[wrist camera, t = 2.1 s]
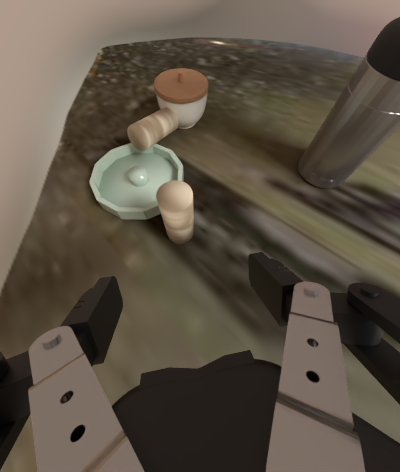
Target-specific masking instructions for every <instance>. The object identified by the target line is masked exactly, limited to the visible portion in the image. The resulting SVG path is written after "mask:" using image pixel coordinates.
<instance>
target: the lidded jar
mask: <svg viewBox="0 0 400 472" xmlns="http://www.w3.org/2000/svg"><path fill="white" fill-rule="evenodd" d="M154 88H155V92H156V96H157V101H158V104H159V107H160V110H161V109H163V108H165V107H168V108H171V109H173V110H174V111H175V113H176V115H177V117H178V121H179V124H178V128H179V129H188V128H191V127H193V126H194V125H195V124H196V122H198V121H199V119H200V118H201V117H202V115H203V113H204V110H205V106H206V101H207V91H208V81H207V79H206V77H205V76H204V75H202V74H201V73H199V72H197V71H195V70H191V69H182V68H179V69H171V70H168V71H165V72H163V73H161V74H159V75H158V76H157V77H156V79H155V81H154Z"/></svg>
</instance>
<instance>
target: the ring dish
mask: <svg viewBox="0 0 400 472" xmlns="http://www.w3.org/2000/svg"><path fill="white" fill-rule="evenodd" d="M183 178H184V174H183V165H182V163H181V162H180V161H179V159H178V158H177V157H176V155H175V154H174V152H173V151H172V150H169V149H167V148H165V147H163V146H160V145H158V144H156V143H155V144H154V145H152V146H151V147H149V148H148V149H146V150H145V151H140V150H138V149H137V148H135V147H134V146H133V144H132V143H129V144H126V145H123V146H120V147H118V148H115V149H112V151H111V150H110V151H109V152H108V153H107V154H106V155H105V156H103V157H102V158H101V159H100V160H99V161H98V162H97V163H96V164H95V166H94V169H93V172H92V175H91V178H90V181H89V182H90V186H91V188H92V190H93V193H94V195H95V197H96V200H97V201H98V202H99V204H100V205H101V206H102V207H103V209H105V210H107V211H108V212H110V213H112V214H114V215H116V216H117V217H119V218H121V219H135V220H147V218H148V219H150V218H152V217H154V216H157V215H159V214H161V212H160V209H159V205H158V202H157V199H156V193H157V190H158V188H159V187H160V186H161V185H162V184H164V183H166V182H168V181H173V180H177V181H182V182H183Z"/></svg>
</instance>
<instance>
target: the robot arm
mask: <svg viewBox="0 0 400 472" xmlns="http://www.w3.org/2000/svg"><path fill="white" fill-rule="evenodd" d="M399 127H400V17H399V18H397V19H395V20H393V21H391V22H390V23H389V24H387V25H386V26H385V27H384V29H383V30H382V31H381V32H380V34H379V35H378V37H377V38H376V40H375V41H374V43H373V45H372V46H371V48H370V49H369V51H368V53H367V54H366V56H365V57H364V59H363V61H362V62H361V64H360V65H359V67H358V68H357V70H356V72H355V73H354V75H353V76H352V78H351V80H350V81H349V83H348V85H347V86H346V88H345V89H344V91H343V92H342V94H341V96H340V97H339V99H338V100H337V102H336V104H335V105H334V107H333V108H332V110H331V111H330V113H329V115H328V116H327V118H326V119H325V121H324V123H323V124H322V126H321V127H320V129H319V130H318V132H317V134H316V135H315V137H314V138H313V140H312V141H311V143H310V145H309V146H308V148H307V149H306V151H305V152H304V154H303V156H302V157H301V159H300V160H299V162H298V171H299V173H300V175H301V176H302V177H303V178H304V179H305V180H306V181H307V182H309V183H310V184H312V185H314V186H317V187H320V188H335V187H337V186H339V185H340V184H342V183H343V182H344V181H345V180H346V179H347V178H348V177H349V176H350V175H351V174H352V173H353V172H354V171H355V170H356V169H357V168H358V167H359V166H360V165H361V164H362V163H363V162H364V161H365V160H366V159H368V158H369V157H370V156H371V155H372V154H373V153H374V152H375V151H376V150H377V149H378V148H379V147H380V146H381V145H382V144H383V143H384V142H385V141H386V140H387V139H388V138H389V137H390V136H391V135H392V134H393V133H394V132H395V131H396V130H397V129H398V128H399ZM249 280H250V284H251V286H252V287H253V289H254V290H255V292H256V293H257V294H258V296H259V297H260V299H261V300H262V302H263V303H264V304H265V306H266V307H267V309H268V310H269V311H270V313H271V314H272V316H273V317H274V318H275V320H276V321H277V323H278V324H279V325H280V327H282V326H287V325H288V327H287V334H286V341H285V348H284V355H283V362H282V367H281V366H279V365H277V364H274V363H272V362H268V361H265V360H259V359H254V358H253V355H252V353H251V351H250V350H248V351H243V352H239V353H234V354H229V355H225V356H223V357H221V358H219V359H217V360H215V361H213V362H211V363H209V364H207V365H205V366H203V367H201V368H198V369H191V368H165V369H161V370H156V371H151V372H147V373H142V374H141V380H140V385H138V386H136V387H135V388H133V389H132V390H130V391H128V392H127V393H126V394H125V395H123V396H122V397H121V398H120V399H119V400H118V401H117V402H115V403H114V405H113V406H112V407H111V405H110V403H109V401H108V399H107V397H106V395H105V393H104V391H103V389H102V387H101V385H100V383H99V381H98V379H97V377H96V375H95V373H94V371H93V369H92V366H93V365H96V364H101V363H103V362H104V359H105V357H106V354H107V351H108V348H109V345H110V343H111V340H112V337H113V334H114V331H115V328H116V326H117V323H118V320H119V317H120V314H121V312H122V308H123V301H122V296H121V293H120V290H119V286H118V283H117V280H116V277H115V276H111V277H105V278H100V279H99V280H98V282H97V283H96V285H95V286H94V288H91V289H89V290H88V291H87V292H86V293H84V294H83V295H82V296H81V298H80V299H79V301H78V303H76V305H75V306H74V309H72V310H71V312H70V313H69V315H68V316H67V317H66V319H65V320H64V321H63V323H62V324H61V326H60V327H57V328H54V329H52V330H50V331H48V332H46V333H45V334H43V335H42V336H40V337H39V338H38V339H37V340H35V342H34V343H33V344H32V345H31V347H30V348H29V351H27V352H24V353H22V354H19V355H17V356H14V357H12V358H9V359H7V360H6V359H5V357H4V356H3V354H2V353H1V352H0V470H1V468H2V466H3V464H4V462H5V460H6V458H7V457H8V455H9V453H10V451H11V449H12V447H13V445H14V443H15V442H16V440H17V438H18V436H19V434H20V432H21V430H22V428H23V427H24V425H25V423H26V421H27V419H28V417H29V415H30V413H31V419H32V428H33V436H34V444H35V453H36V461H37V469H38V472H400V443H398V442H397V441H395V440H394V439H392V438H391V437H389V436H387V435H386V434H384V433H383V432H381V431H380V430H378V429H377V428H375V427H374V426H372V425H371V424H369V423H368V422H366V421H365V420H363V419H362V418H360V417H358V416H357V415H355V414H354V413H352V412H351V405H350V399H349V392H348V386H347V379H346V373H345V366H344V360H343V353H342V346H341V343H343V344H344V345H345V346H346V347H347V348H348V349H349V350H350V351H351V353H352V354H353V355H354V356H355V357H356V358H357V359H358V360H359V361H360V362H361V363H362V364H363V365H364V367H365V368H366V369H367V370H368V371H369V372H370V373H371V374H372V375H373V376H374V377H375V378H376V379H377V381H378V382H379V383H380V384H381V385H382V386H383V387H384V388H385V389H386V390H387V391H388V392H389V394H390V395H391V396H392V397H393V398H394V399H395V400H396V401H397V402H398V403H399V404H400V352H398V351H397V350H396V349H395V348H394V347H392V346H391V345H390V344H389V343H388V342H386V341H385V340H384V339H383V338H382V334H383V330H384V331H385V332H386V333H387V334H389V335H390V336H391V337H392V338H394V339H395V340H396V341H397V342H399V343H400V299H399V298H397V297H396V296H394V295H392V294H390V293H389V292H387V291H385V290H384V289H382V288H379V287H377V286H374V285H371V284H365V283H354V284H351V285H349V287H348V293H330V292H329V291H328V290H327V289H326V288H325V287H323V286H322V285H319V284H317V283H313V282H304V281H302V280H301V279H300V278H299V277H297V276H296V275H295V274H294V273H293V272H291V271H289V269H288V268H287V267H285V266H284V265H283V264H282V263H280V262H279V261H277V260H274V259H269V258H268V257H267V256H266V255H265V254H264V253H262V252H260V253H254V254H250V255H249Z"/></svg>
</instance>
